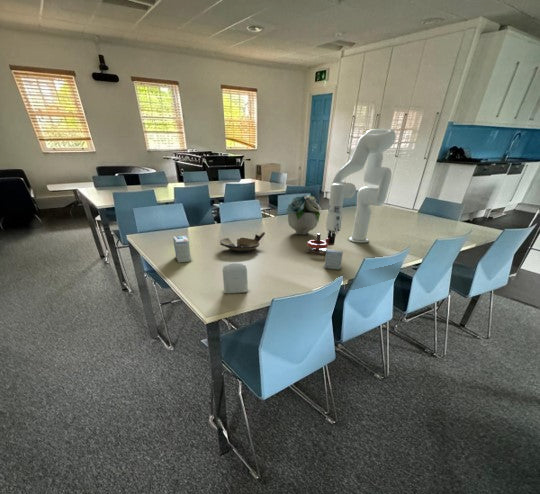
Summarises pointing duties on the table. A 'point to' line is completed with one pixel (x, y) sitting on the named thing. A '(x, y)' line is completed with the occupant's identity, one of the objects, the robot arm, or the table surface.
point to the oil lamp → (242, 243)
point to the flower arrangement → (303, 214)
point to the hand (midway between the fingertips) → (330, 242)
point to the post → (316, 250)
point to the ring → (322, 244)
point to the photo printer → (235, 278)
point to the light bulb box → (182, 249)
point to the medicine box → (333, 259)
